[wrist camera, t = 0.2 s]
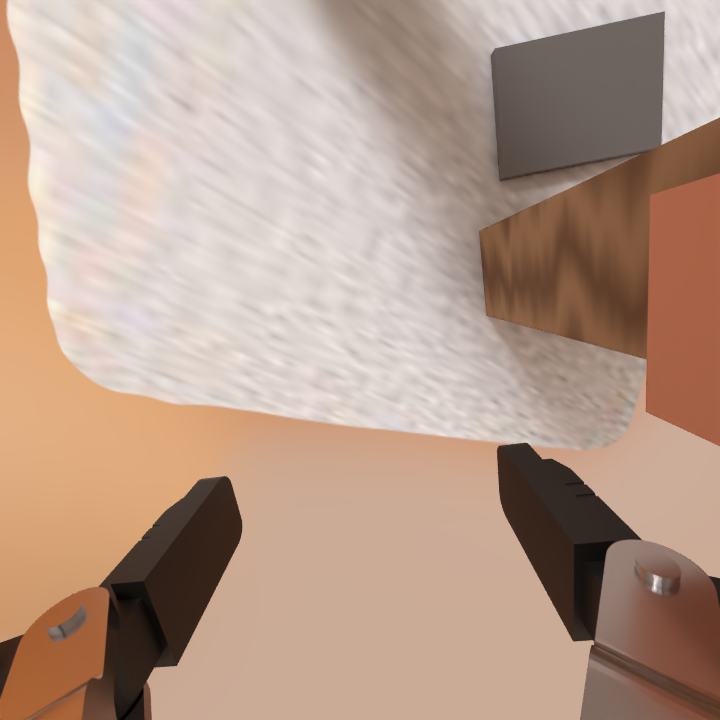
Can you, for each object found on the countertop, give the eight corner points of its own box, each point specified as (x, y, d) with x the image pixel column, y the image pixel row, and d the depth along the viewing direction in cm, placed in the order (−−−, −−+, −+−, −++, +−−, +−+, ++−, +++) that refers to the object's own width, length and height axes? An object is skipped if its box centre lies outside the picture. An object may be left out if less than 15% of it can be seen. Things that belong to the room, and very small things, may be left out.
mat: (490, 55, 31) (494, 48, 30) (655, 20, 30) (664, 11, 29) (499, 180, 34) (503, 177, 33) (652, 151, 33) (661, 147, 32)
